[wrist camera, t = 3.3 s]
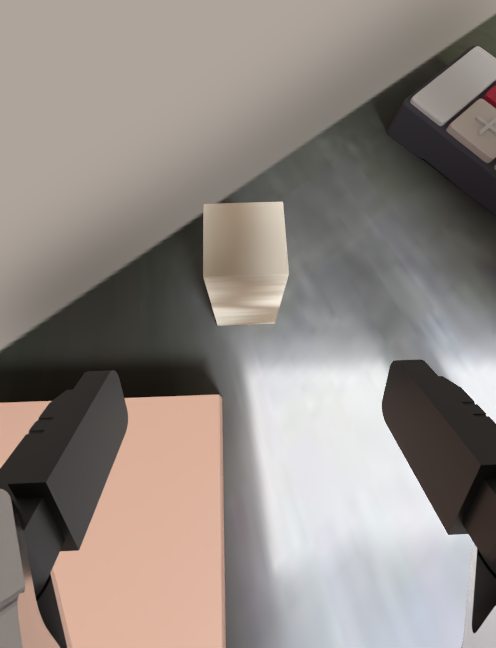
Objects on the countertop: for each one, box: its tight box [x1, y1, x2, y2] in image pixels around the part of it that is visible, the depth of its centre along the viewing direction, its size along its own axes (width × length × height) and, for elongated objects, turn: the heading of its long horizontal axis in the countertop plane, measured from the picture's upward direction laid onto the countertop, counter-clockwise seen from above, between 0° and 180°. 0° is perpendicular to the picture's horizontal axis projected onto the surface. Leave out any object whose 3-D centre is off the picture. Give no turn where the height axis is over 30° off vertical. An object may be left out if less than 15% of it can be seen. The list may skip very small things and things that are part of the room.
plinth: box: [0, 395, 226, 648], centre depth 20 cm, size 16×16×3 cm
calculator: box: [387, 46, 496, 216], centre depth 30 cm, size 11×4×15 cm
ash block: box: [203, 202, 289, 325], centre depth 22 cm, size 5×5×9 cm
